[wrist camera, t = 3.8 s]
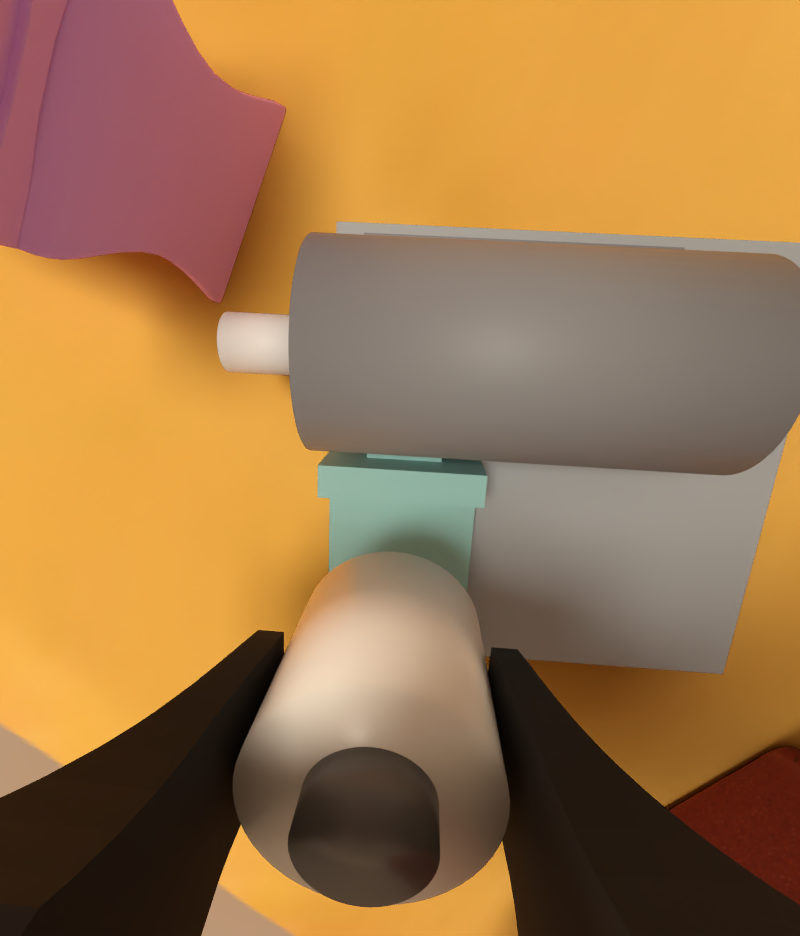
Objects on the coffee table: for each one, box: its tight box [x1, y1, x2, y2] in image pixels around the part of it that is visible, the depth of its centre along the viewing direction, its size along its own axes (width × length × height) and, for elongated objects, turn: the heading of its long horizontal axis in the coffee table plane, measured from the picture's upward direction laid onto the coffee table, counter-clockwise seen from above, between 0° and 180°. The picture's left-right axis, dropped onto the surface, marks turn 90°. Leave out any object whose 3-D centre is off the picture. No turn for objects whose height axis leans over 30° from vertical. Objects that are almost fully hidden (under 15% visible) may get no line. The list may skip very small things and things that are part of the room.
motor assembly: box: [217, 222, 800, 674], centre depth 14 cm, size 17×15×6 cm
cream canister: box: [233, 552, 510, 907], centre depth 10 cm, size 5×5×6 cm
